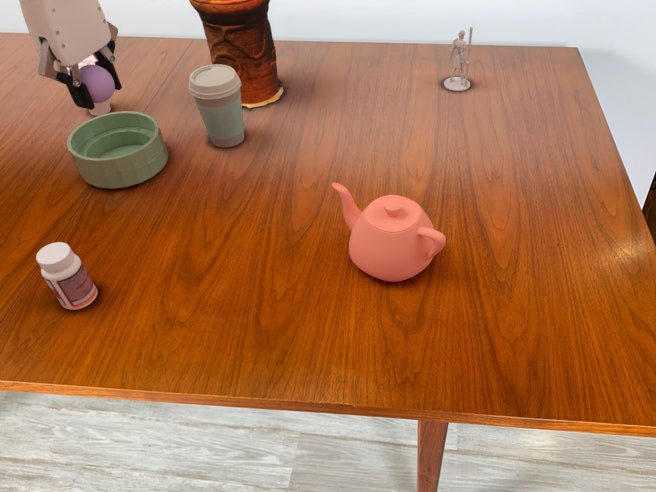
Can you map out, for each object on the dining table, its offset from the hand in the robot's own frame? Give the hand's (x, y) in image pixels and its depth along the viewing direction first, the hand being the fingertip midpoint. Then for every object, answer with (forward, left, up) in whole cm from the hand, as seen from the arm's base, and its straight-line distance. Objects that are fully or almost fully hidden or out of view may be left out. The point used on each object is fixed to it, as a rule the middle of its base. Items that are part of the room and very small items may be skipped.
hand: (99, 96), depth 89 cm
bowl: (0, 0, -13) cm, 13 cm away
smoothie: (-7, +19, -13) cm, 24 cm away
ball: (0, 0, +2) cm, 2 cm away
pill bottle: (-3, -30, -13) cm, 33 cm away
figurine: (+62, +16, -13) cm, 65 cm away
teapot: (+40, -29, -13) cm, 51 cm away
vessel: (+21, +21, -13) cm, 32 cm away
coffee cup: (+17, +5, -13) cm, 22 cm away
